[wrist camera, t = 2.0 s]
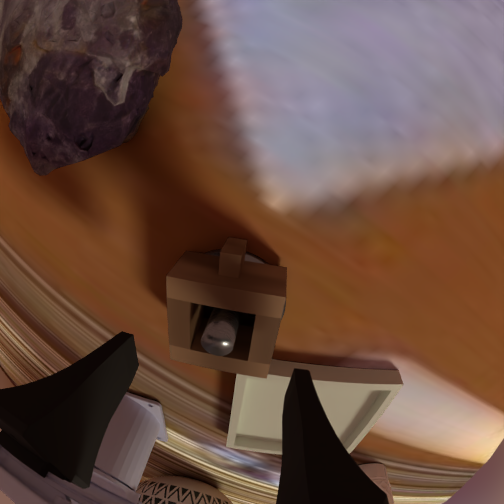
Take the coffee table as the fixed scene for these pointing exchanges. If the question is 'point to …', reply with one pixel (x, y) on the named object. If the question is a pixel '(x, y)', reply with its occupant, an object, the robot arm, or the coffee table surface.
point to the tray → (330, 395)
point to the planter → (179, 491)
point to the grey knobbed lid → (226, 320)
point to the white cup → (378, 477)
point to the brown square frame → (225, 307)
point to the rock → (81, 72)
